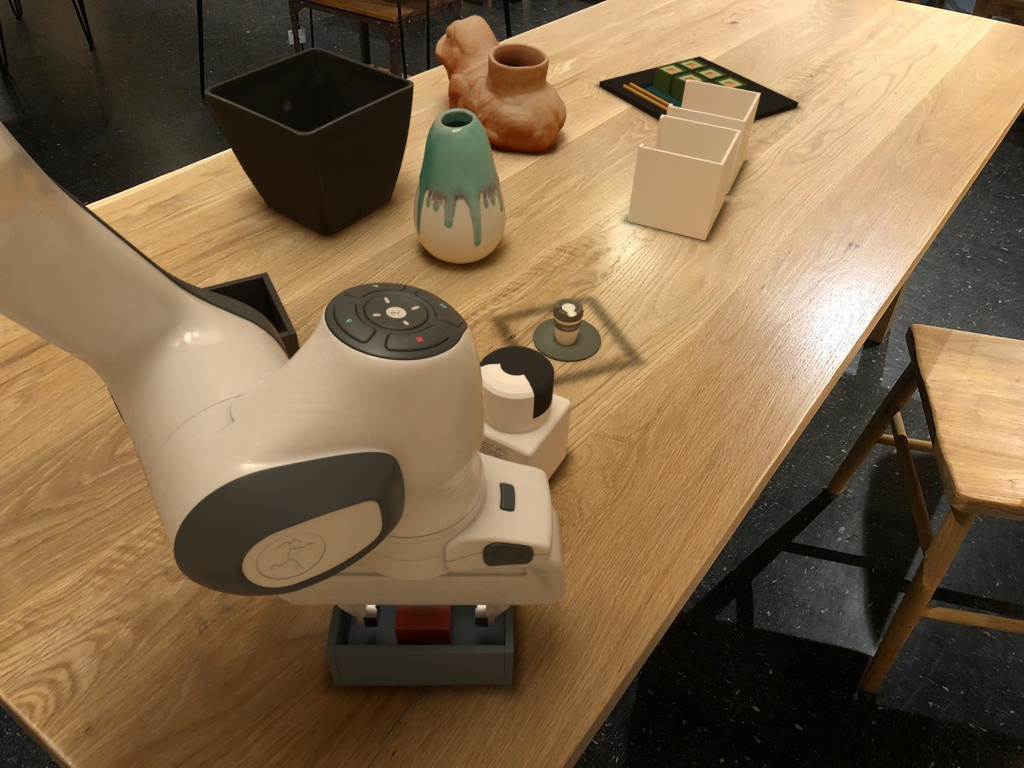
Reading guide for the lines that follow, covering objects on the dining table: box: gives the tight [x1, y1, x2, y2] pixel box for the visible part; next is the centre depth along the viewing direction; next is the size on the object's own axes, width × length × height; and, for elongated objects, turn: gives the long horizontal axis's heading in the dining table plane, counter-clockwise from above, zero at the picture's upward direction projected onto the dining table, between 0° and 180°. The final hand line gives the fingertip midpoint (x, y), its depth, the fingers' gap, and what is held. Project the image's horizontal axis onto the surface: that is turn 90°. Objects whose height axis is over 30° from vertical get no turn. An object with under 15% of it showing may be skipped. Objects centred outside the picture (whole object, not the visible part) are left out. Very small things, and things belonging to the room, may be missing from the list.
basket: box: [201, 271, 301, 358], centre depth 79 cm, size 11×11×8 cm
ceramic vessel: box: [434, 14, 567, 155], centre depth 122 cm, size 14×26×15 cm, turn 40°
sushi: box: [598, 55, 799, 122], centre depth 136 cm, size 25×25×4 cm
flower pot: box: [204, 47, 415, 236], centre depth 101 cm, size 19×19×17 cm
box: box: [325, 605, 515, 686], centre depth 58 cm, size 13×8×5 cm, turn 91°
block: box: [395, 605, 454, 645], centre depth 58 cm, size 4×4×4 cm
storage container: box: [627, 79, 761, 241], centre depth 109 cm, size 25×11×11 cm, turn 156°
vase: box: [413, 108, 507, 265], centre depth 94 cm, size 12×12×18 cm
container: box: [479, 345, 572, 481], centre depth 68 cm, size 8×8×13 cm
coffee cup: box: [532, 297, 602, 362], centre depth 85 cm, size 12×12×5 cm
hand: (427, 618), depth 58 cm, fingers open, 7 cm apart
